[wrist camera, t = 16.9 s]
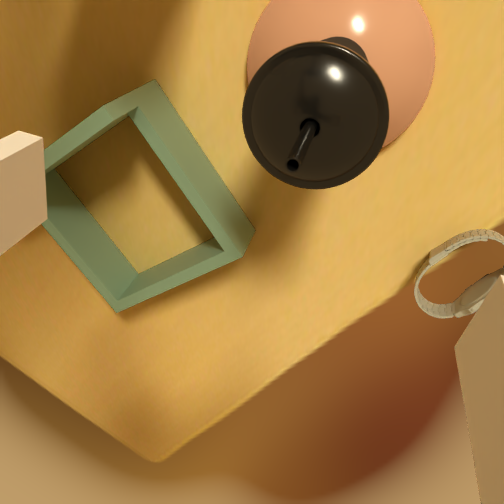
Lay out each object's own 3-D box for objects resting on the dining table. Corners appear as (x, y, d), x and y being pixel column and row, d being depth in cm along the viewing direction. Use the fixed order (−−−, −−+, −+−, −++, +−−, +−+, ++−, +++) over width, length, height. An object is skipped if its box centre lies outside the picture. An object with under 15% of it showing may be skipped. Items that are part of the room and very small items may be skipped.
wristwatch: (440, 309, 46) (446, 343, 42) (395, 268, 45) (396, 299, 41) (527, 254, 41) (543, 287, 37) (479, 207, 40) (489, 236, 36)
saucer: (217, 36, 38) (213, 38, 37) (382, -84, 31) (382, -86, 30) (304, 181, 42) (302, 187, 41) (463, 102, 36) (465, 106, 35)
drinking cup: (323, 140, 39) (275, 273, 22) (266, 60, 37) (167, 142, 20) (408, 82, 35) (427, 190, 19) (351, -10, 33) (315, 19, 16)
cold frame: (39, 164, 48) (-25, 201, 41) (155, 79, 41) (103, 105, 33) (137, 285, 54) (97, 338, 46) (255, 230, 46) (230, 282, 39)
